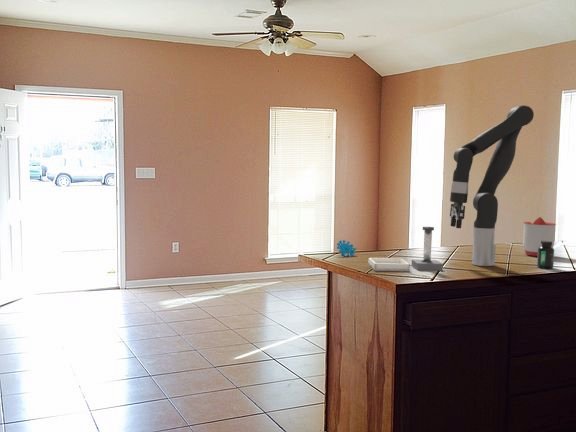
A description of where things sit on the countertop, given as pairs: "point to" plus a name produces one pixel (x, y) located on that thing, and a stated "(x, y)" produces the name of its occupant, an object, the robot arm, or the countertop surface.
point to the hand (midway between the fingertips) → (455, 227)
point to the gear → (346, 248)
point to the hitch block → (427, 265)
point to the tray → (388, 264)
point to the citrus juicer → (537, 235)
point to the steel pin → (427, 243)
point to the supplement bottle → (545, 255)
